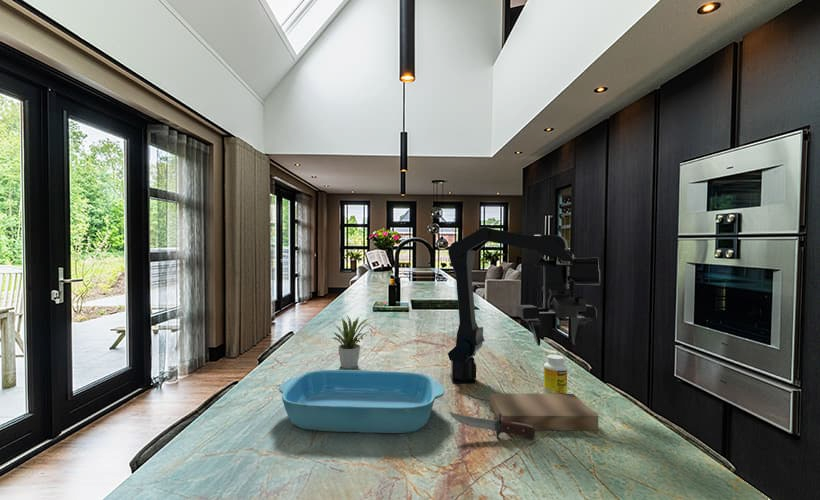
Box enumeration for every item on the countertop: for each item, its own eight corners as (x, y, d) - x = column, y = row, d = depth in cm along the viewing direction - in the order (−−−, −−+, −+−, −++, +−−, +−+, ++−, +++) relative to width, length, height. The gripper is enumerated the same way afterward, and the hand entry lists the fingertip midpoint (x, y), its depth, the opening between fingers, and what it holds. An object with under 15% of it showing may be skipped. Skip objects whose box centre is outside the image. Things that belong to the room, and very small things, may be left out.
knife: (448, 438, 76) (448, 413, 76) (448, 434, 77) (448, 410, 77) (535, 440, 75) (535, 415, 75) (533, 436, 76) (533, 412, 76)
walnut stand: (502, 429, 79) (502, 415, 79) (489, 405, 91) (490, 393, 91) (598, 430, 79) (598, 416, 79) (573, 406, 91) (573, 393, 91)
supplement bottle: (557, 402, 93) (558, 361, 93) (539, 395, 98) (539, 355, 98) (571, 397, 96) (571, 357, 96) (552, 390, 101) (552, 352, 101)
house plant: (384, 364, 123) (384, 313, 123) (356, 376, 111) (356, 320, 111) (350, 357, 131) (351, 309, 130) (321, 367, 119) (321, 315, 119)
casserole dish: (441, 397, 97) (441, 369, 96) (447, 443, 74) (447, 406, 74) (297, 395, 98) (297, 367, 98) (261, 439, 75) (261, 403, 75)
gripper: (530, 287, 89) (531, 354, 89) (608, 286, 89) (609, 352, 89) (515, 283, 100) (516, 343, 100) (585, 282, 100) (586, 341, 100)
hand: (556, 345), depth 97 cm, fingers open, 9 cm apart
